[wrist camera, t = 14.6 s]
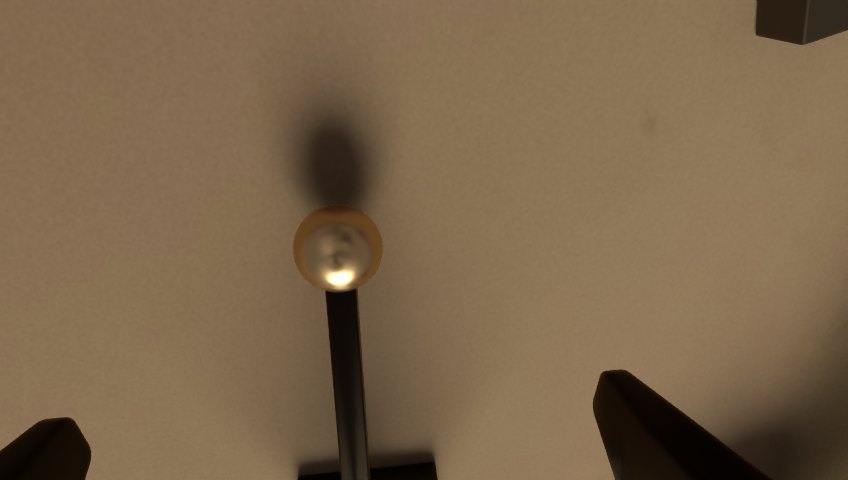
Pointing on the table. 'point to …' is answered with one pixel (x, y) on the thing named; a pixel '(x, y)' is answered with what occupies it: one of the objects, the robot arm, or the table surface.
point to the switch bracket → (389, 473)
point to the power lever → (343, 314)
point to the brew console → (801, 19)
